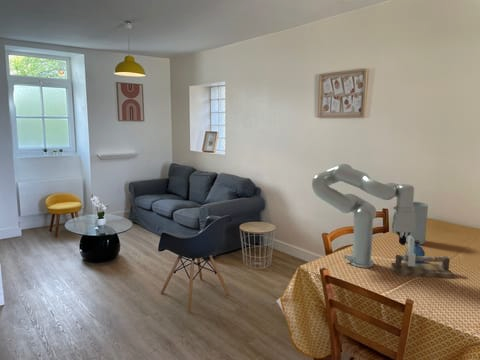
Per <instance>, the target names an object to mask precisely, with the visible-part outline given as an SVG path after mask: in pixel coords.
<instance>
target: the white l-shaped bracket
mask: <svg viewBox="0 0 480 360" xmlns="http://www.w3.org/2000/svg"><path fill="white" fill-rule="evenodd" d="M414 241H415V239H414V238H413V237H411V236H408V243H407V249H408V250H407V249H406V250H404V256H408V261H405V260H403V261H404V262H403V263H406V264H407V265H408V266H415V257H416V255H415V254H414Z"/></svg>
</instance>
